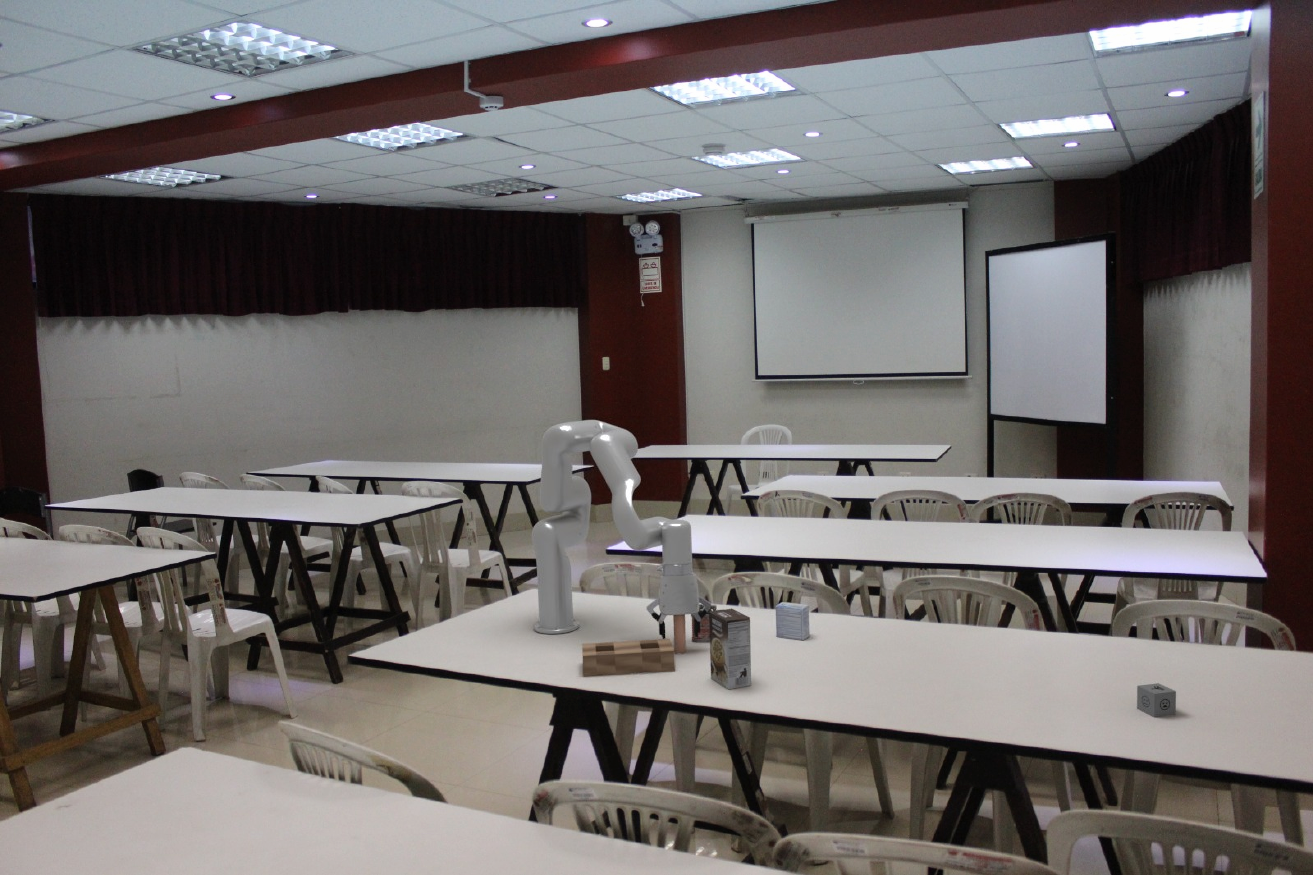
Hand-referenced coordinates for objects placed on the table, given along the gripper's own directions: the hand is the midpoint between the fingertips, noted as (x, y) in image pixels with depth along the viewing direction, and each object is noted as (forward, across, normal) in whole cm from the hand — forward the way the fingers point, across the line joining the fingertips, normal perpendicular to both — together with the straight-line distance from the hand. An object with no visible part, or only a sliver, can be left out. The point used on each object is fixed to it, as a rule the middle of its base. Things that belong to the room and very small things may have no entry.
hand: (679, 636), depth 250 cm
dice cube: (+5, +92, -58) cm, 109 cm away
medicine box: (+4, +31, +7) cm, 32 cm away
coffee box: (+4, +9, -25) cm, 27 cm away
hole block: (+4, -14, -10) cm, 18 cm away
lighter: (+4, +8, +8) cm, 12 cm away
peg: (+4, 0, 0) cm, 4 cm away
